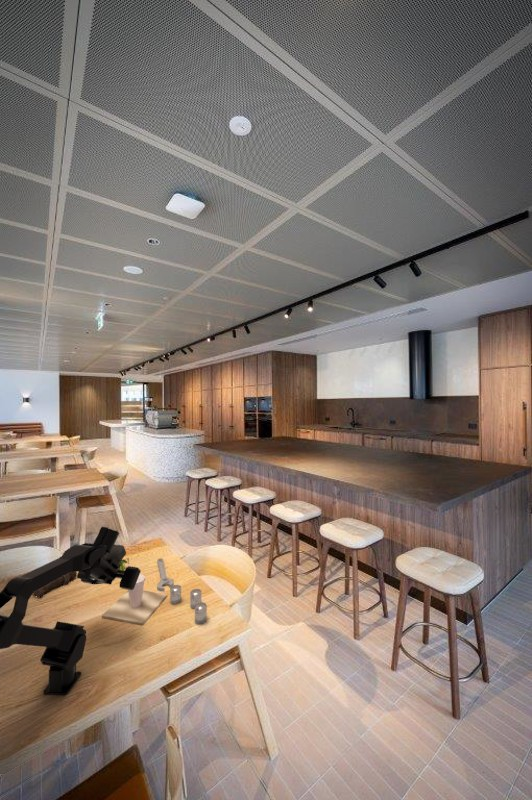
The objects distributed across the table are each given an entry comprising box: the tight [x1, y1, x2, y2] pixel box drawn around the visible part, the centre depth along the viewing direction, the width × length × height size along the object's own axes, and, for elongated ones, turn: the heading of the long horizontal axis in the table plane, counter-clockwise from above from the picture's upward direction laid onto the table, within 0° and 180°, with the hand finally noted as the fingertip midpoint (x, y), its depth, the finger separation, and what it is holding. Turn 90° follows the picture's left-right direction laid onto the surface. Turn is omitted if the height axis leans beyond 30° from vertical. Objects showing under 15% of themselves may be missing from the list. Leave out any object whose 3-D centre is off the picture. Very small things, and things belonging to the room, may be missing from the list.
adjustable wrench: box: [156, 557, 174, 592], centre depth 140 cm, size 25×6×2 cm, turn 19°
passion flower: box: [118, 557, 130, 571], centre depth 142 cm, size 11×11×12 cm
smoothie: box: [127, 565, 146, 608], centre depth 119 cm, size 6×6×14 cm
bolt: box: [32, 571, 78, 598], centre depth 130 cm, size 6×5×15 cm
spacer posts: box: [169, 584, 208, 625], centre depth 118 cm, size 8×19×5 cm, turn 48°
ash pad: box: [101, 590, 168, 626], centre depth 119 cm, size 16×16×1 cm
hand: (122, 582), depth 111 cm, fingers open, 9 cm apart
